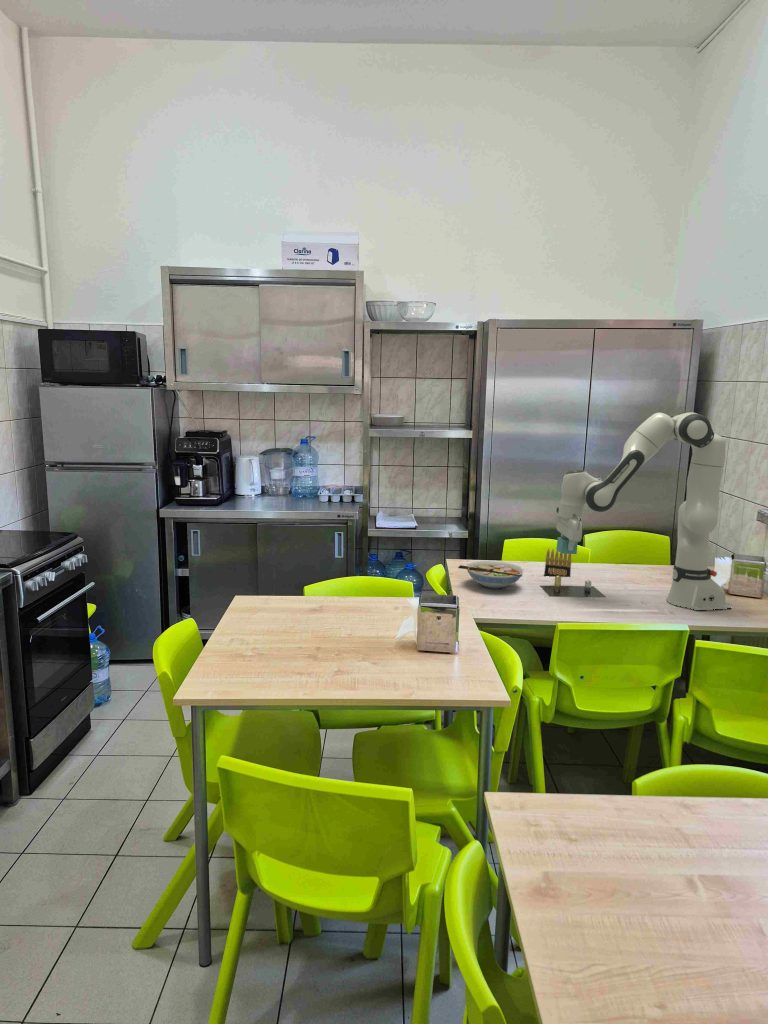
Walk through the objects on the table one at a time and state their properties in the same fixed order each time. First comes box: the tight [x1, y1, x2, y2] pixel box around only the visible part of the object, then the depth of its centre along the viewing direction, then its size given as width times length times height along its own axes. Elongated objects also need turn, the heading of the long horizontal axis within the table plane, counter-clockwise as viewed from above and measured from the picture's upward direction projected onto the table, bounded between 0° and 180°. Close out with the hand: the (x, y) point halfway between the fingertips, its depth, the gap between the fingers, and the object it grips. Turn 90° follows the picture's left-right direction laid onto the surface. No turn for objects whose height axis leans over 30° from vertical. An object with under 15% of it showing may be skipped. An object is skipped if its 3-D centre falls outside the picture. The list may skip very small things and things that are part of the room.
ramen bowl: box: [457, 560, 525, 590], centre depth 269 cm, size 25×23×8 cm
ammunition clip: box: [543, 548, 572, 578], centre depth 284 cm, size 11×2×12 cm, turn 72°
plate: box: [539, 576, 607, 598], centre depth 263 cm, size 22×14×7 cm, turn 93°
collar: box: [555, 536, 579, 555], centre depth 260 cm, size 6×6×5 cm
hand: (566, 547), depth 260 cm, fingers closed on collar, 6 cm apart
